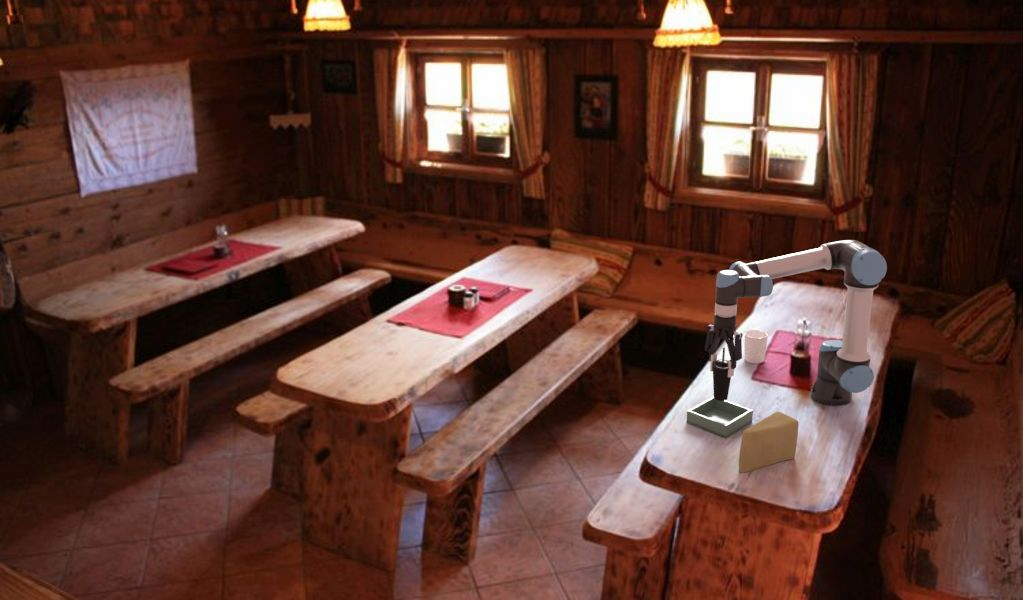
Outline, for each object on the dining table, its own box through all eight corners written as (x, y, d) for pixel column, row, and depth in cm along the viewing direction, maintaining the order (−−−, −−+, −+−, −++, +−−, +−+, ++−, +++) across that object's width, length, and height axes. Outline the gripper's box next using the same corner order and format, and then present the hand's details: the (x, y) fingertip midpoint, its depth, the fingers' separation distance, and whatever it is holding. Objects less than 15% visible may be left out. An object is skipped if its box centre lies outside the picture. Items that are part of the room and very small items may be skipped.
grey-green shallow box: (752, 422, 326) (752, 410, 325) (725, 438, 316) (726, 425, 314) (713, 407, 338) (714, 395, 336) (686, 422, 327) (687, 410, 326)
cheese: (750, 479, 290) (753, 438, 285) (728, 466, 298) (731, 427, 293) (796, 459, 301) (800, 419, 296) (774, 447, 309) (777, 409, 304)
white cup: (761, 366, 373) (763, 339, 369) (739, 361, 378) (741, 335, 374) (768, 358, 380) (770, 332, 376) (747, 353, 385) (749, 328, 381)
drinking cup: (714, 391, 328) (718, 342, 321) (734, 396, 324) (738, 346, 317) (706, 399, 323) (709, 349, 316) (726, 404, 318) (730, 353, 311)
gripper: (755, 317, 308) (751, 378, 316) (708, 304, 321) (705, 362, 329) (743, 323, 303) (739, 384, 311) (696, 309, 317) (693, 368, 325)
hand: (721, 373), depth 320 cm, fingers closed on drinking cup, 7 cm apart
